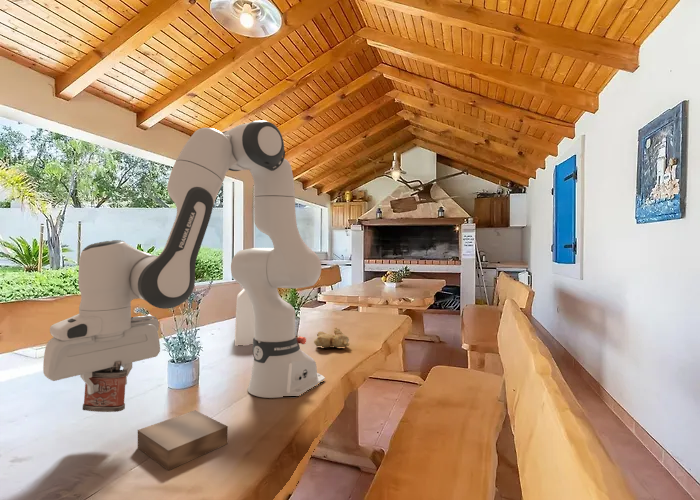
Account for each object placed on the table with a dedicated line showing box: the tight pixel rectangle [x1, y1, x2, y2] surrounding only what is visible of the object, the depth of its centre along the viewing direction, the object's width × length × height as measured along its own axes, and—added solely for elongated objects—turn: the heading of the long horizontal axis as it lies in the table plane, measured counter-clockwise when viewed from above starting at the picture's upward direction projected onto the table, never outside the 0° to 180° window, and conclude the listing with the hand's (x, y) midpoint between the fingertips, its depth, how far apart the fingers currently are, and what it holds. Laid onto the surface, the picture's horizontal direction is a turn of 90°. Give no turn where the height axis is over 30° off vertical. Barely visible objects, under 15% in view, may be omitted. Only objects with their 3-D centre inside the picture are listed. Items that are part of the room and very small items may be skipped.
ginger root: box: [313, 327, 350, 348], centre depth 153 cm, size 16×16×8 cm
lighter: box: [82, 361, 127, 413], centre depth 79 cm, size 8×3×10 cm, turn 89°
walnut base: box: [137, 410, 229, 471], centre depth 77 cm, size 12×12×4 cm
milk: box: [234, 288, 255, 347], centre depth 161 cm, size 12×12×26 cm
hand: (107, 388), depth 79 cm, fingers closed on lighter, 4 cm apart
